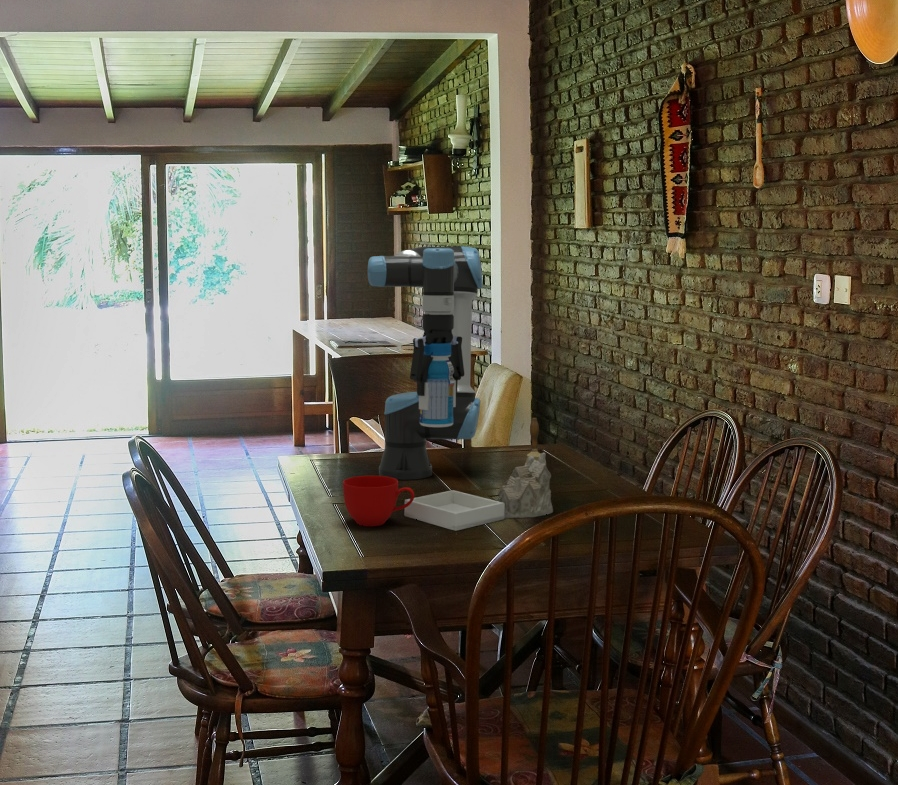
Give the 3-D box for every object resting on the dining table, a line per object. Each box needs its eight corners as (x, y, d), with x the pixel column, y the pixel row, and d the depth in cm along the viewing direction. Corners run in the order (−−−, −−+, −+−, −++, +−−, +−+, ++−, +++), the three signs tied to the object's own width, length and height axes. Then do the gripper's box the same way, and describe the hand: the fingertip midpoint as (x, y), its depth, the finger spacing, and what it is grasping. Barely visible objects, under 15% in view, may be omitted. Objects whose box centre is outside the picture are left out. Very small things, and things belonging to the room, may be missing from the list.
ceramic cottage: (533, 499, 285) (532, 442, 282) (563, 516, 270) (562, 456, 267) (478, 507, 279) (476, 450, 276) (506, 526, 264) (504, 465, 261)
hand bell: (529, 476, 312) (530, 421, 310) (514, 471, 319) (515, 416, 317) (554, 474, 316) (555, 419, 314) (539, 468, 323) (539, 414, 321)
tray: (404, 516, 266) (404, 499, 266) (453, 505, 277) (453, 490, 277) (455, 530, 253) (455, 513, 253) (504, 519, 264) (504, 502, 264)
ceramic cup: (408, 532, 252) (408, 489, 250) (336, 528, 255) (336, 486, 253) (419, 518, 264) (419, 477, 263) (351, 514, 267) (351, 474, 266)
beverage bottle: (429, 428, 261) (430, 344, 258) (412, 424, 268) (413, 341, 265) (460, 426, 265) (461, 343, 263) (442, 421, 272) (443, 340, 270)
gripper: (414, 315, 254) (414, 413, 256) (480, 312, 267) (479, 406, 270) (394, 313, 259) (393, 409, 262) (460, 311, 273) (459, 403, 276)
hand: (437, 407), depth 266 cm, fingers closed on beverage bottle, 8 cm apart
